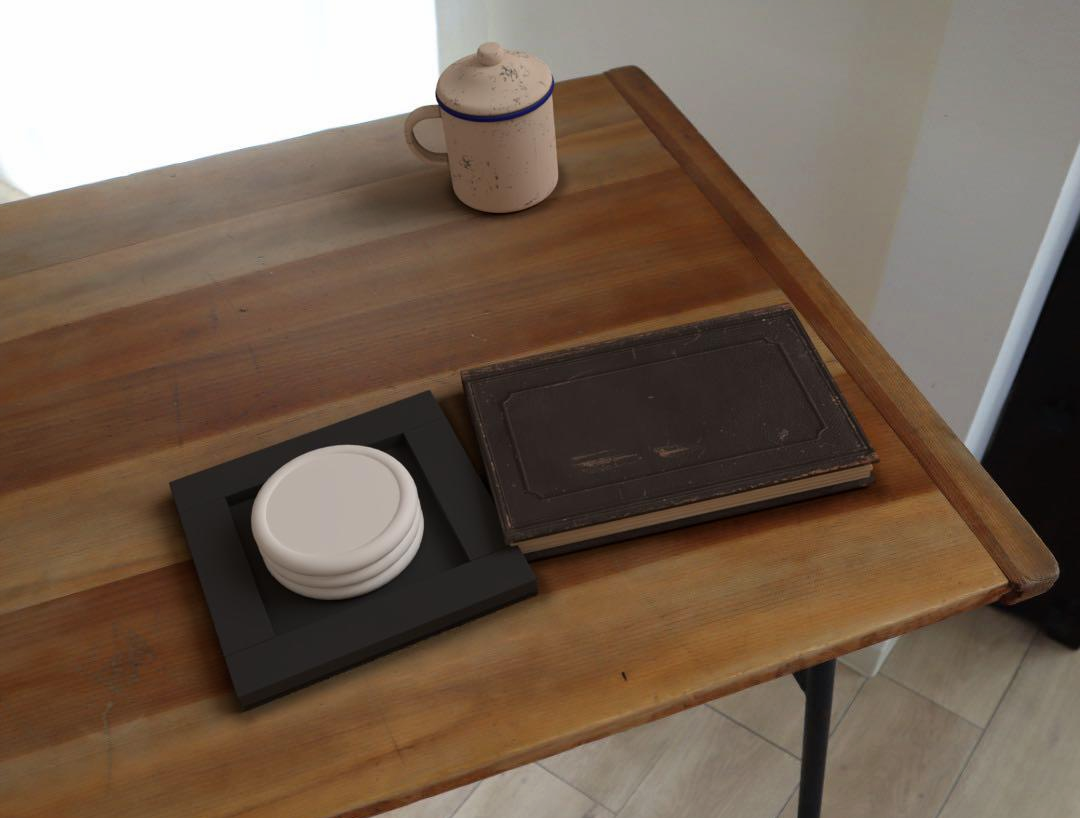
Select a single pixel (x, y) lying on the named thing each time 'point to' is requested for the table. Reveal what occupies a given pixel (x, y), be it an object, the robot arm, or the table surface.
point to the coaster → (338, 522)
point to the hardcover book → (662, 431)
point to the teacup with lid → (494, 129)
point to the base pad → (363, 621)
